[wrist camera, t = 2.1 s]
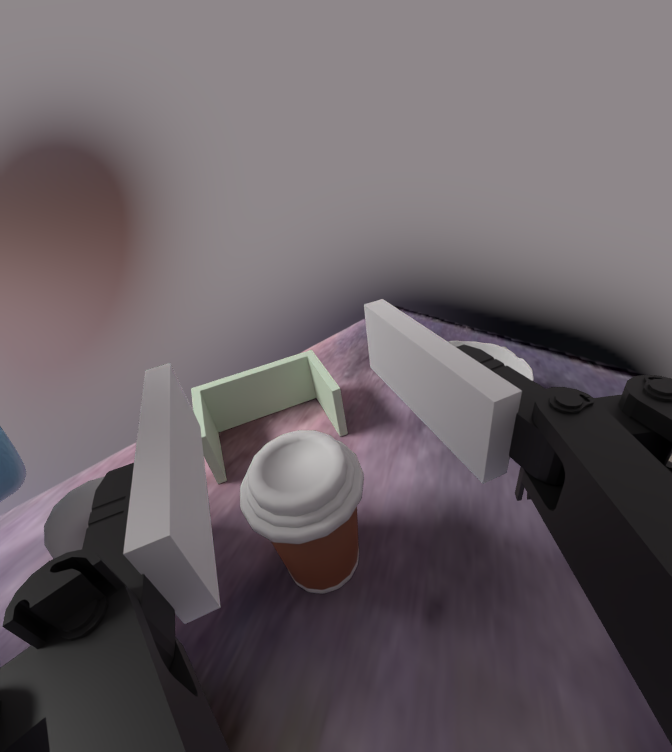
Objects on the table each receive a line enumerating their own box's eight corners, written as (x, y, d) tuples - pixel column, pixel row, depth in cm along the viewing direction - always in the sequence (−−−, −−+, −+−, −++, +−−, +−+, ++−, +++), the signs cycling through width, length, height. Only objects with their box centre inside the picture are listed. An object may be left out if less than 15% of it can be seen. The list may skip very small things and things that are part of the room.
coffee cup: (299, 501, 37) (271, 412, 30) (385, 522, 34) (375, 428, 27) (253, 592, 30) (203, 503, 23) (356, 629, 27) (333, 538, 20)
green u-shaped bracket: (218, 484, 40) (195, 439, 36) (210, 429, 48) (191, 388, 44) (347, 433, 44) (340, 388, 40) (320, 391, 52) (311, 349, 48)
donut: (190, 516, 37) (149, 448, 32) (195, 543, 35) (151, 474, 29) (85, 565, 34) (19, 500, 29) (81, 599, 32) (7, 534, 26)
